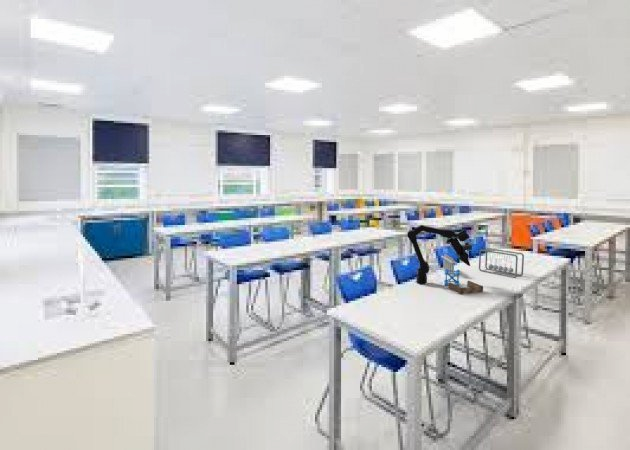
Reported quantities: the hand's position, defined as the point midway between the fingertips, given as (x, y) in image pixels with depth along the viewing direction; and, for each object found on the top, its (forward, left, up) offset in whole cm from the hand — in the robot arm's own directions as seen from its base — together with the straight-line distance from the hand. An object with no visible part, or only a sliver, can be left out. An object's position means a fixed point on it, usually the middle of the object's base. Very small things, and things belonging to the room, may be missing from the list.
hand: (468, 264), depth 260 cm
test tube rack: (+9, +35, -15) cm, 39 cm away
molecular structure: (-9, +5, -15) cm, 19 cm away
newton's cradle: (+45, +20, -15) cm, 51 cm away
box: (-9, -9, -15) cm, 20 cm away
